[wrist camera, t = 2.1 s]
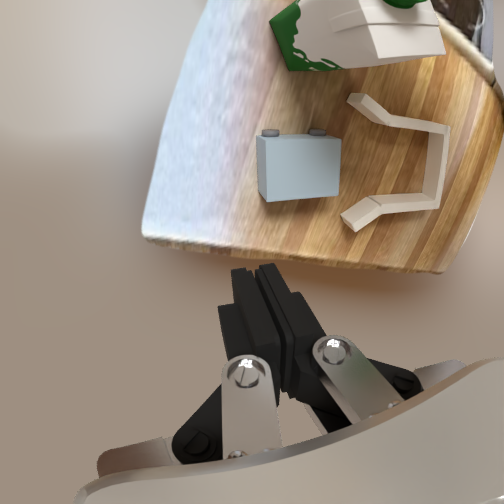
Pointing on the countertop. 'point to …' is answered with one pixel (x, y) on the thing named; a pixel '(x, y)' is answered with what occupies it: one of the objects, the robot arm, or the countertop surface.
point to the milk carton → (356, 33)
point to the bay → (434, 167)
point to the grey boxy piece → (297, 165)
